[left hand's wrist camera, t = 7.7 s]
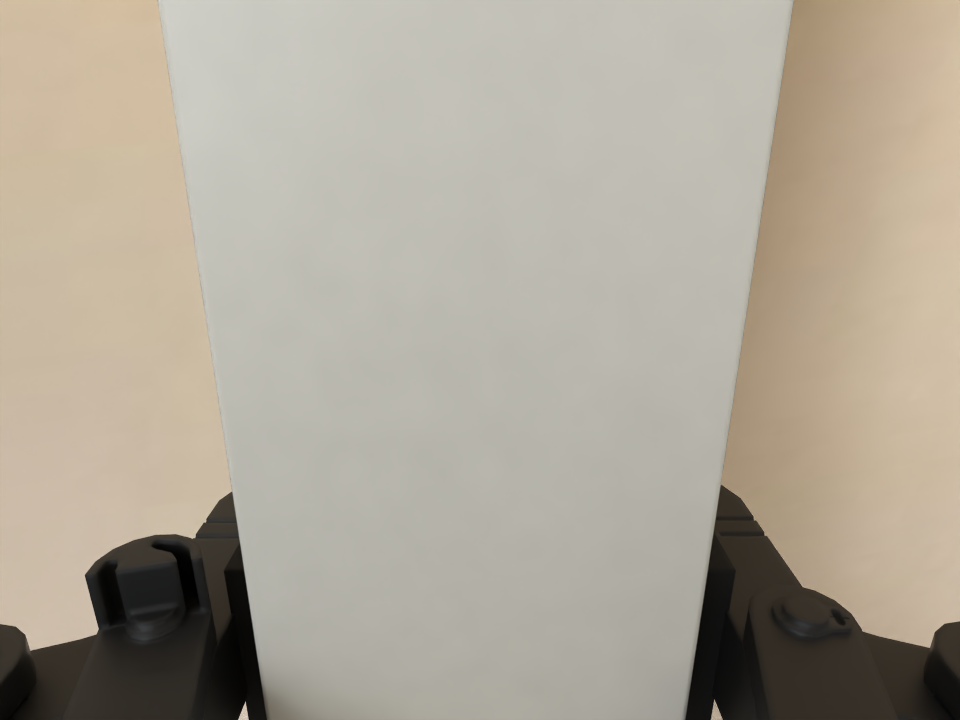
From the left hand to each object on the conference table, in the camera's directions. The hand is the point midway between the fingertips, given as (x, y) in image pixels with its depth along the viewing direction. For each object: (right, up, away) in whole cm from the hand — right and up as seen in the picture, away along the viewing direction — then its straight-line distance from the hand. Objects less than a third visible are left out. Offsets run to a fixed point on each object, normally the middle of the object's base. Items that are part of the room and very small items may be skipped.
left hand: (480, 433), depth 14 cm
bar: (0, +33, -11) cm, 35 cm away
